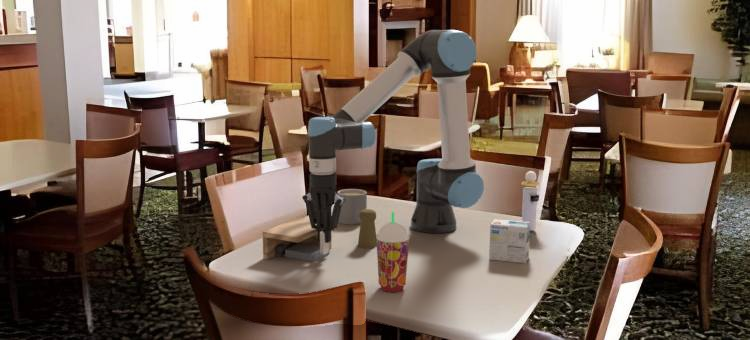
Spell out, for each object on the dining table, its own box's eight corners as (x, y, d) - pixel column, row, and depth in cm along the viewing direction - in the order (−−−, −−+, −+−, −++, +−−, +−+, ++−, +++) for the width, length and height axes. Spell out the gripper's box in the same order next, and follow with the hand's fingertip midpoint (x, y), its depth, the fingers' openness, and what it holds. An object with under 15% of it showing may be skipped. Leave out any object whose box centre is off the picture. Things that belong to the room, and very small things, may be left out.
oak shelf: (331, 248, 217) (331, 222, 215) (298, 265, 201) (298, 237, 199) (298, 242, 222) (297, 217, 220) (263, 258, 206) (262, 231, 205)
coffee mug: (368, 223, 244) (368, 195, 242) (338, 224, 242) (338, 195, 240) (363, 213, 257) (363, 186, 255) (335, 214, 255) (335, 187, 253)
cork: (375, 248, 217) (375, 213, 214) (355, 247, 218) (355, 211, 216) (379, 242, 222) (379, 208, 220) (360, 241, 224) (360, 207, 221)
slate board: (329, 255, 211) (329, 247, 211) (314, 263, 204) (314, 254, 204) (300, 250, 216) (300, 242, 215) (285, 258, 209) (285, 249, 208)
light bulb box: (529, 257, 210) (531, 221, 207) (526, 264, 203) (528, 227, 201) (492, 253, 213) (493, 217, 211) (488, 260, 207) (489, 223, 205)
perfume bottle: (515, 230, 237) (518, 170, 233) (527, 227, 240) (529, 168, 237) (529, 234, 232) (532, 173, 229) (540, 231, 236) (544, 171, 232)
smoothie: (374, 283, 187) (374, 208, 183) (406, 282, 188) (407, 207, 184) (377, 294, 179) (377, 216, 175) (410, 293, 180) (411, 216, 176)
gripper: (296, 172, 202) (298, 253, 207) (335, 176, 197) (337, 259, 201) (310, 168, 209) (312, 246, 213) (349, 171, 203) (350, 252, 207)
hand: (324, 252), depth 207 cm, fingers closed
